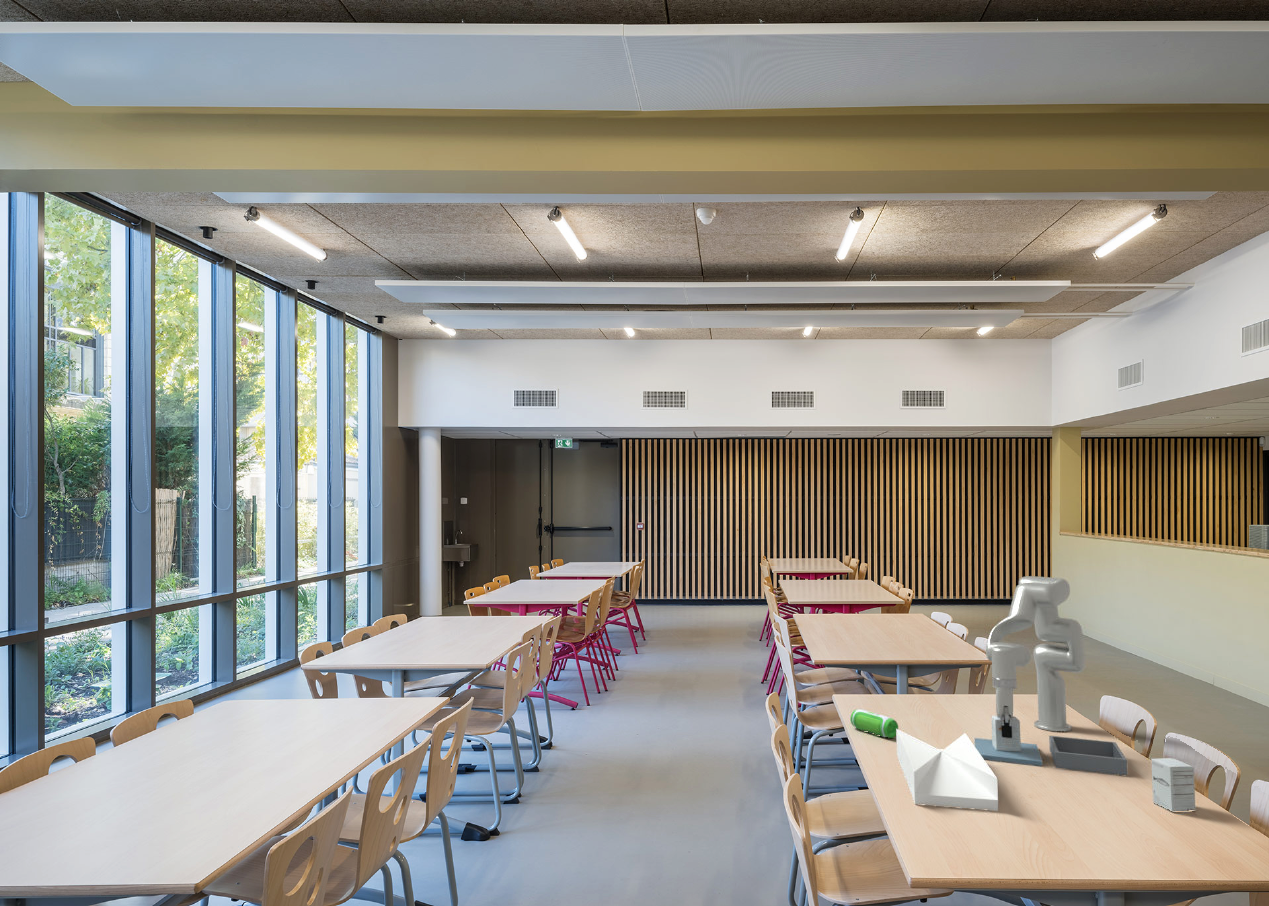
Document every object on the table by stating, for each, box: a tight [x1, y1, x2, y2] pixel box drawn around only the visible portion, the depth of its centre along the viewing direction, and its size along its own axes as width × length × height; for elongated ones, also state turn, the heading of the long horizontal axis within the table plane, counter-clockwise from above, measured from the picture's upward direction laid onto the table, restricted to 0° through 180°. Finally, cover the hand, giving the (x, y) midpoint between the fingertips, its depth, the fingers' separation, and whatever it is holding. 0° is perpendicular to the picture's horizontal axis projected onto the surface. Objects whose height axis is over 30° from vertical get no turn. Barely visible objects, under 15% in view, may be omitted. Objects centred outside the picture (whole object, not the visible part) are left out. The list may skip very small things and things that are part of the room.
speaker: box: [850, 708, 899, 739], centre depth 292 cm, size 18×7×8 cm, turn 32°
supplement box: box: [1150, 757, 1196, 812], centre depth 220 cm, size 7×7×13 cm
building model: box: [895, 728, 999, 812], centre depth 241 cm, size 45×22×10 cm, turn 168°
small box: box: [991, 715, 1022, 752], centre depth 268 cm, size 8×6×10 cm
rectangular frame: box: [1048, 735, 1129, 776], centre depth 258 cm, size 20×20×5 cm
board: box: [974, 737, 1043, 767], centre depth 267 cm, size 20×20×2 cm
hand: (1006, 733), depth 268 cm, fingers open, 9 cm apart
